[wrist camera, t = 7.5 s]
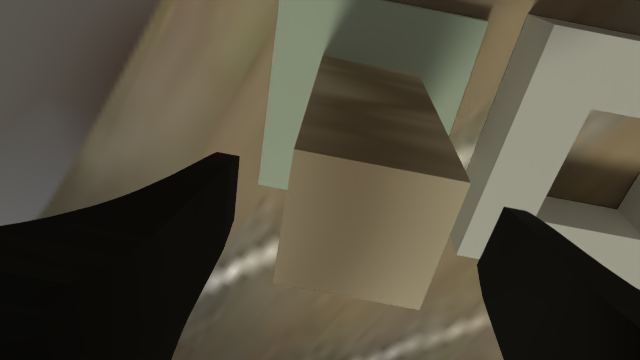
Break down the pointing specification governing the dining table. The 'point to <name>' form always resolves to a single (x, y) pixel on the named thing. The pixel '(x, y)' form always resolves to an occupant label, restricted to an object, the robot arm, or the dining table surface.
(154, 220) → the robot arm
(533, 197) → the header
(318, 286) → the plug
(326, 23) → the mat
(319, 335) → the dining table surface
